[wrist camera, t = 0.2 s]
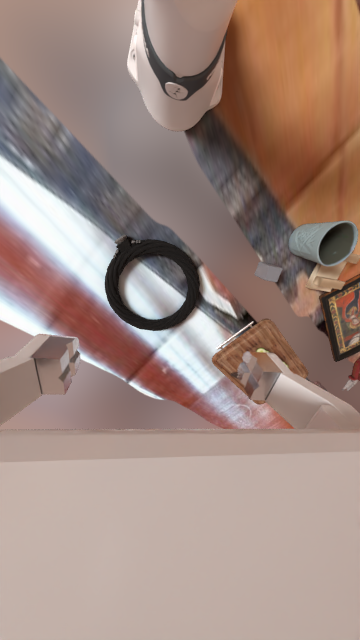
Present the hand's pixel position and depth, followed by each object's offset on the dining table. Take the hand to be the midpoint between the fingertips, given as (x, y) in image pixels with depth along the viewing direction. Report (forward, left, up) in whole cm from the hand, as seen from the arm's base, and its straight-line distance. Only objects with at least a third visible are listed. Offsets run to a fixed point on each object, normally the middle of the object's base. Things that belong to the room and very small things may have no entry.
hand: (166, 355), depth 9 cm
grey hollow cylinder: (-9, +42, -48) cm, 64 cm away
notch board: (-3, +54, -48) cm, 72 cm away
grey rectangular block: (+1, +33, -48) cm, 58 cm away
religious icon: (+9, +80, -48) cm, 94 cm away
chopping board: (+39, +49, -48) cm, 79 cm away
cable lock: (+11, 0, -48) cm, 50 cm away
